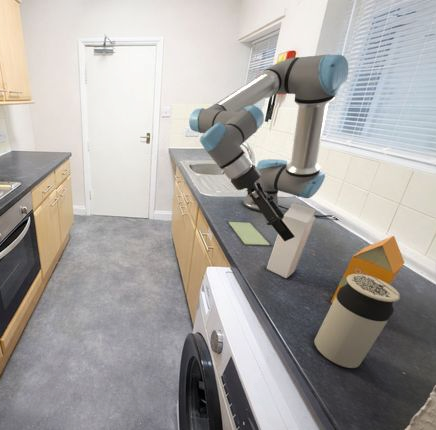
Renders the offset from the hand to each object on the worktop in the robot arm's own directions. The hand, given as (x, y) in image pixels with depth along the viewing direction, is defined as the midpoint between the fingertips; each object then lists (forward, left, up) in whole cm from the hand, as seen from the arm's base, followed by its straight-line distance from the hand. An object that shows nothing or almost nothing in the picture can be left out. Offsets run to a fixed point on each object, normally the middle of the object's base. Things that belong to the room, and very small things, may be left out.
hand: (284, 228), depth 78 cm
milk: (-2, +1, -15) cm, 15 cm away
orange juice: (-14, +15, -15) cm, 25 cm away
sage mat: (-2, -23, -15) cm, 28 cm away
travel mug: (+1, +30, -15) cm, 33 cm away
